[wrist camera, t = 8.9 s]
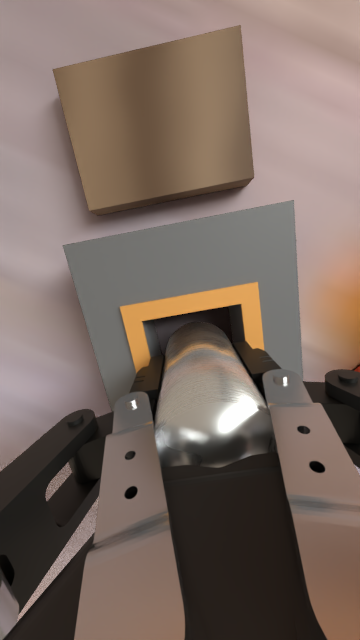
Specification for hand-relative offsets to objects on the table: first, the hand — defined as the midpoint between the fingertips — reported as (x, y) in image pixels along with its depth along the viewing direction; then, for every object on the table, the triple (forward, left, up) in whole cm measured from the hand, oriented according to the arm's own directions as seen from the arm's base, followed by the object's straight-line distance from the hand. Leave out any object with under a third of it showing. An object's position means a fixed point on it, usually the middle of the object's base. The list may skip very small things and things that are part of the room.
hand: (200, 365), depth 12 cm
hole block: (0, 0, -5) cm, 5 cm away
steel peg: (0, 0, -2) cm, 2 cm away
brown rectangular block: (0, -13, -5) cm, 14 cm away
